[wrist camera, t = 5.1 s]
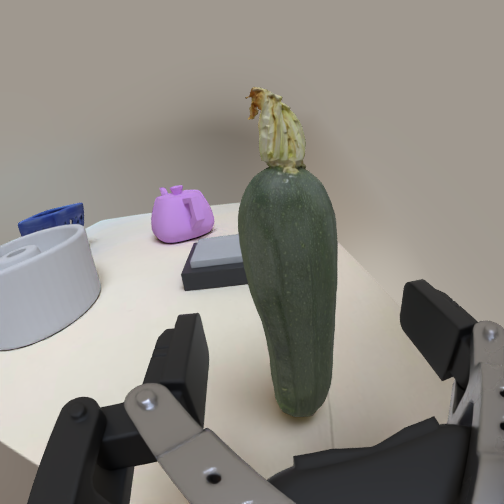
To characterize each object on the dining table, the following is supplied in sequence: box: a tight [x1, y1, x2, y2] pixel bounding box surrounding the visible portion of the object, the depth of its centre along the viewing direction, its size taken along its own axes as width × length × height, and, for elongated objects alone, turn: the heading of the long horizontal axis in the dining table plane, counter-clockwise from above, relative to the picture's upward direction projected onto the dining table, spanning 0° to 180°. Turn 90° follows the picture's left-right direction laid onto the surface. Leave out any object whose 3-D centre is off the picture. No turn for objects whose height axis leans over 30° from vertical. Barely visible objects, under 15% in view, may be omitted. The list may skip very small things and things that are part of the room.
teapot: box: [151, 185, 214, 243], centre depth 63 cm, size 13×20×11 cm
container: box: [0, 224, 101, 350], centre depth 35 cm, size 25×25×10 cm
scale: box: [181, 234, 248, 291], centre depth 44 cm, size 14×13×4 cm
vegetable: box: [238, 87, 337, 417], centre depth 14 cm, size 4×4×20 cm
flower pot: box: [18, 203, 84, 237], centre depth 58 cm, size 13×13×12 cm
